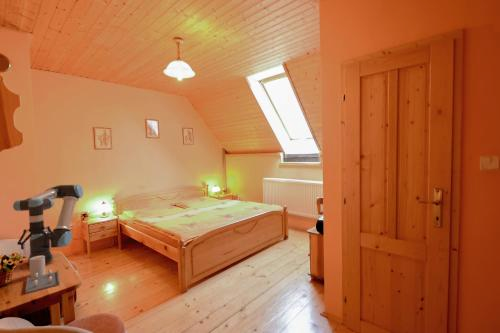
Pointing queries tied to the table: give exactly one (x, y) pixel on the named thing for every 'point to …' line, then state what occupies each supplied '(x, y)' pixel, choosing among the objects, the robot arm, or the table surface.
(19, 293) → the table surface
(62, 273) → the table surface
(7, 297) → the table surface
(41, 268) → the cup
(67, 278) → the table surface
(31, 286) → the tray
